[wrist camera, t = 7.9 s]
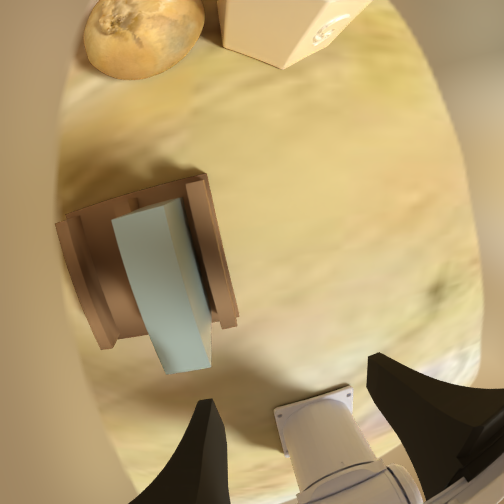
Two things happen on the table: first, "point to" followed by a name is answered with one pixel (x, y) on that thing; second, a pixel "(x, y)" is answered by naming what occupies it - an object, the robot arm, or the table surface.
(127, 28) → the onion
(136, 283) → the pale green prism
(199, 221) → the rack
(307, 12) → the jar
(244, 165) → the table surface
